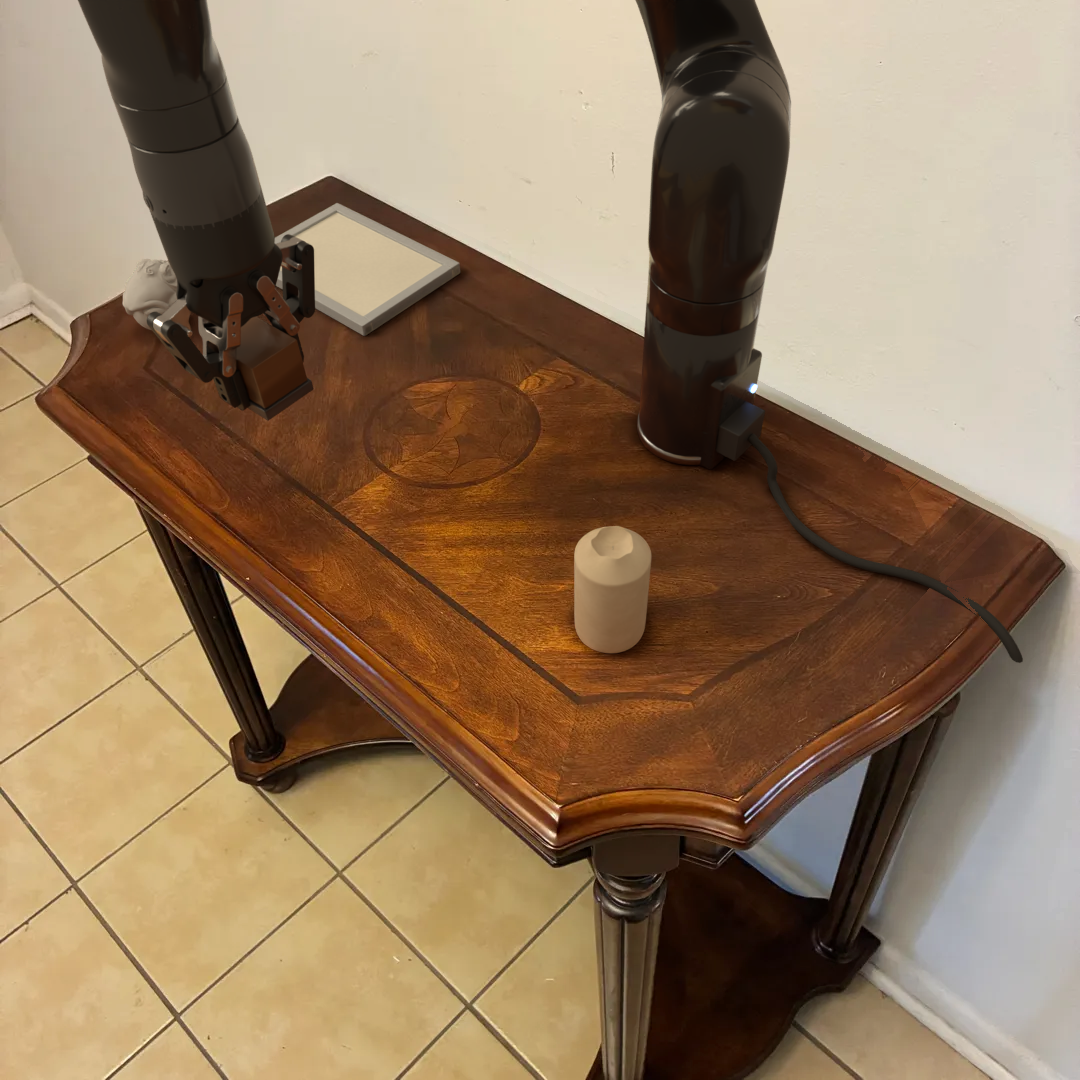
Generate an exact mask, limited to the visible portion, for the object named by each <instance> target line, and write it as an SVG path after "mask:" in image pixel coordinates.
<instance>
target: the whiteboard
mask: <svg viewBox="0 0 1080 1080" xmlns="http://www.w3.org/2000/svg"><path fill="white" fill-rule="evenodd" d="M286 234H290V235H292V236H294V237H297V238H299V239H301V240H303V241H305V242H306V243H308V244H310V245H312V246H313V248H314V270H315V310H317V311H320V312H321V313H323V314H325V315H326V316H328V317H329V318H332V319H333V320H335V321H336V322H338V323H340V324H342V325H344V326H346V327H347V328H349V329H351V330H353V331H354V332H356V333H358V334H359V335H362V336H364V337H365V336H367V335H368V334H370V333H371V332H373V331H374V330H377V329H378V328H379V327H380V326H382V325H383V324H385V323H387V322H388V321H390V320H391V319H393V318H394V317H396V316H397V315H399V314H401V313H402V312H403V311H405V310H407V309H408V308H410V307H412V306H413V305H414V304H415V303H417V302H419V301H420V300H422V299H423V298H425V297H426V296H428V295H429V294H431V293H432V292H434V291H435V290H437V289H438V288H440V287H441V286H443V285H444V284H446V283H447V282H449V281H450V280H452V279H453V278H455V277H457V276H458V275H459V274H461V265H460V262H459V261H458V260H454V259H452V258H451V257H449V256H446V255H444V254H442V253H440V252H438V251H437V250H434V249H432V248H430V247H428V246H427V245H424V244H422V243H420V242H418V241H416V240H414V239H413V238H409V237H408V236H406V235H404V234H402V233H399V232H398V231H395V230H394V229H392V228H389V227H387V226H386V225H383V224H381V223H380V222H377V221H375V220H373V219H371V218H369V217H368V216H365V215H363V214H362V213H359V212H356V211H355V210H353V209H351V208H349V207H346V206H345V205H343V204H341V203H338V202H336V203H334V204H333V205H330V206H329V207H327V208H326V209H324V210H321V211H320V212H318V213H316V214H314V215H313V216H311V217H309V218H308V219H306V220H304V221H302V222H301V223H298V224H296V225H295V226H293V227H291V228H290V229H288V230H286V231H285V232H283V233H281V234H279V235H277V236H275V244H277V243H280V242H281V240H282V238H283V236H285V235H286ZM275 287H276V288H279V289H281V291H283V286H282V266H281V268H280V271H279V275H278V279H277V283H276V286H275Z"/></svg>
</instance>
